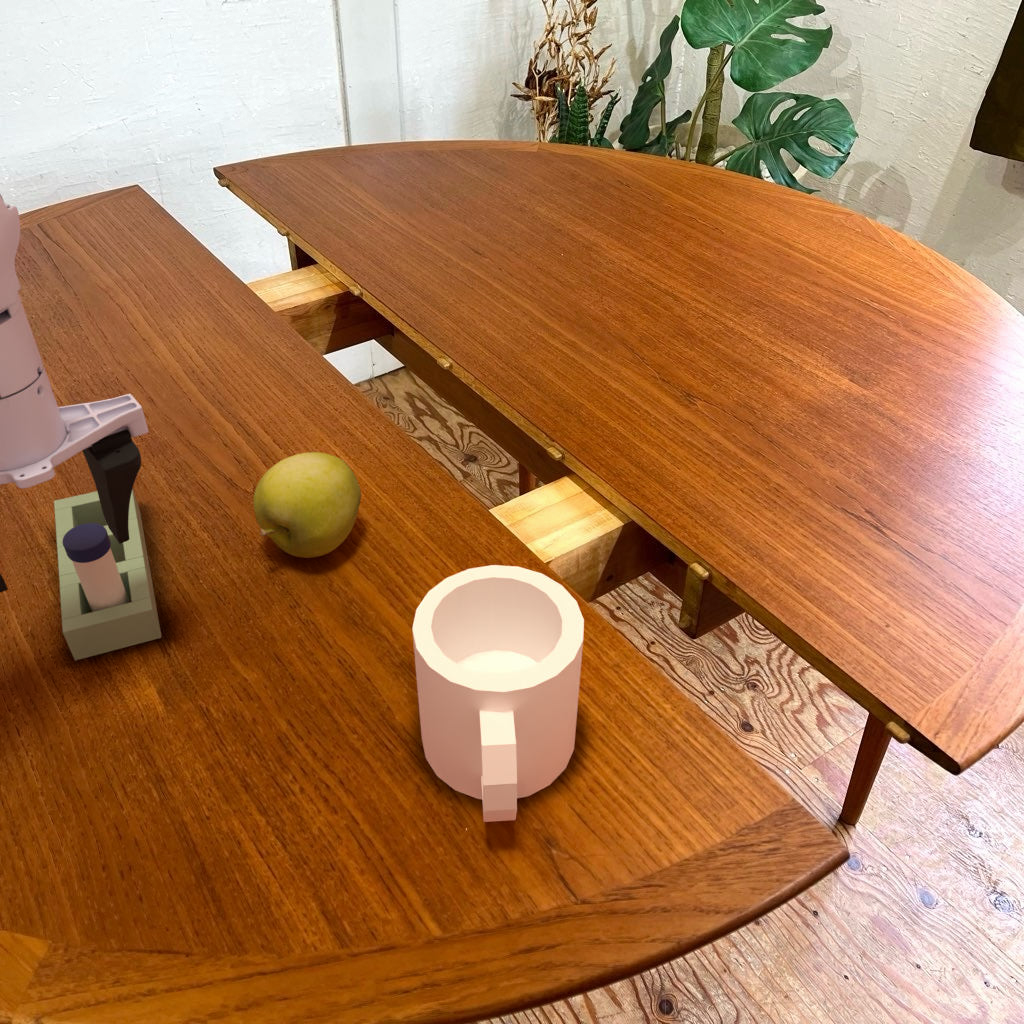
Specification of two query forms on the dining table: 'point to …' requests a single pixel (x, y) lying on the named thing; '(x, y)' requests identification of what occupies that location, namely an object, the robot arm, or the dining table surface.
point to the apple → (307, 503)
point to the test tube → (95, 565)
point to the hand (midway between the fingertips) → (60, 557)
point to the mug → (498, 682)
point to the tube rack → (140, 615)
